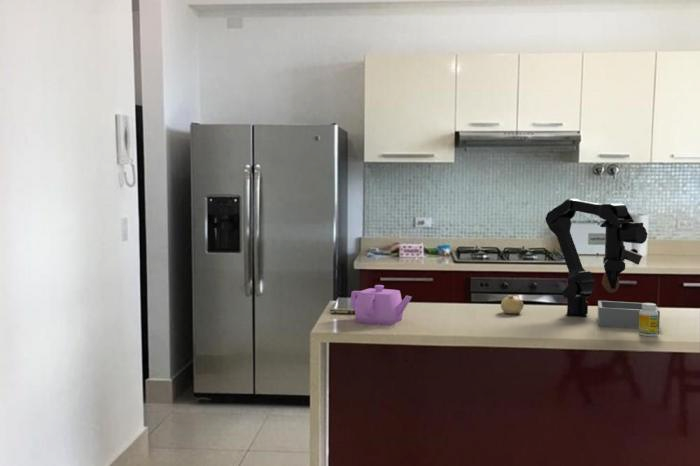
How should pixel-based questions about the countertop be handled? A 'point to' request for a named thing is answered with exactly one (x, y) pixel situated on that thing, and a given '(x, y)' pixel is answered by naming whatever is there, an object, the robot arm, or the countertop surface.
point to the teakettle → (378, 305)
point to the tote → (620, 314)
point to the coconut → (607, 284)
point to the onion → (512, 304)
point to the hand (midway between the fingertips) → (613, 287)
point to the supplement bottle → (648, 320)
